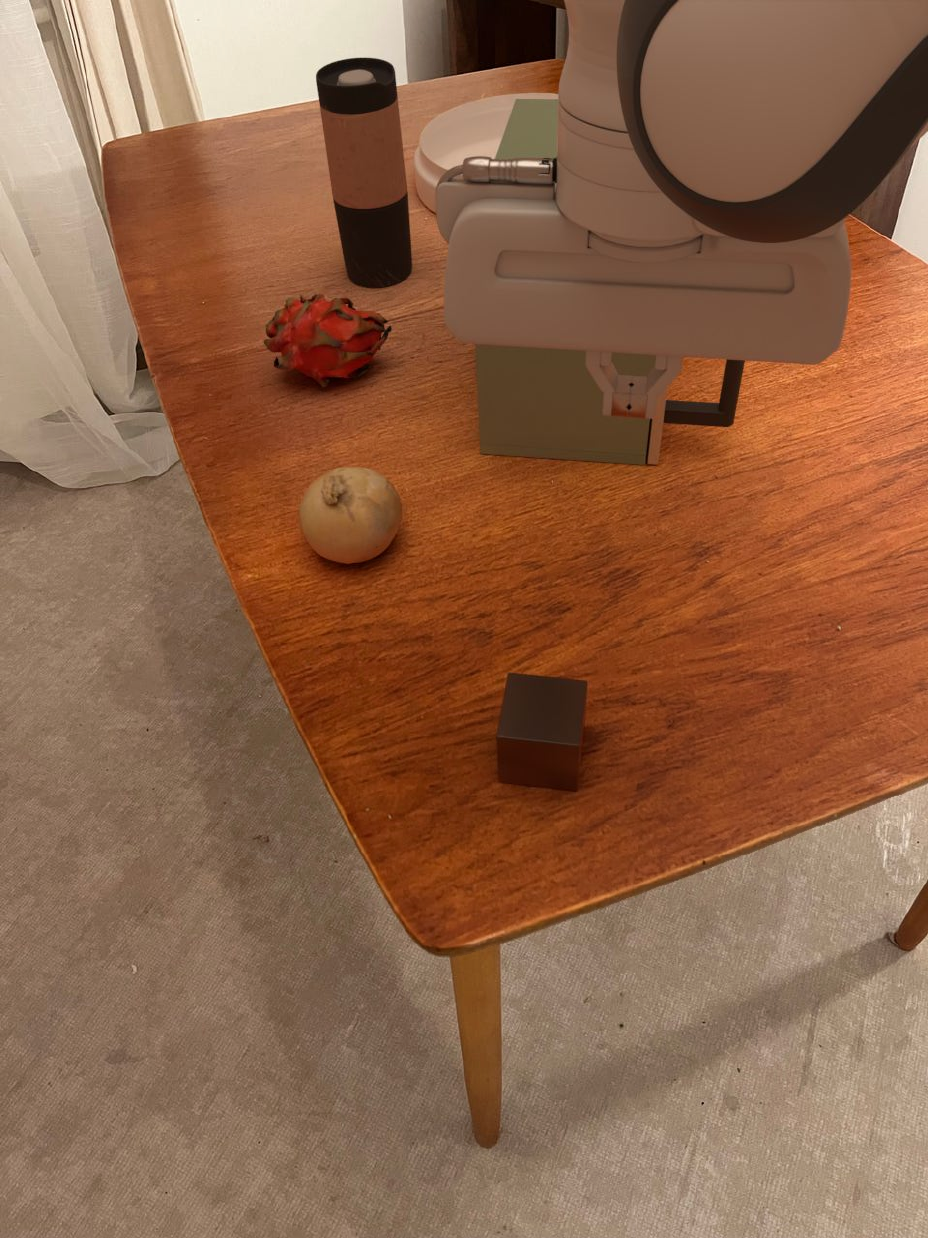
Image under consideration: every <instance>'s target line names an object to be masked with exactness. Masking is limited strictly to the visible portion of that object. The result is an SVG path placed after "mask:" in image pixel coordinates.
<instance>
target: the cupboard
mask: <svg viewBox="0 0 928 1238" xmlns="http://www.w3.org/2000/svg"><path fill="white" fill-rule="evenodd" d="M557 126H558V99H516V101H515V103H514V106H513V109H512V112H511V115H510V117H509V120H508V123H507V126H506V129H505V131H504V134H503V137H502V140H501V143H500V145H499V148H498V151H497V154H496V157H495V159H500V160H501V159H506V160H507V159H514V158H517V159H518V158H556V157H557ZM555 184H557V183H555ZM474 353H475V370H476V371H475V373H476V374H475V375H476V393H477V394H476V395H477V396H476V397H477V413H478V433H479V434H478V436H479V453H480V455H489V456H490V455H492V456H506V457H519V458H520V457H521V458H535V459H549V460H563V461H577V462H578V461H579V462H593V463H606V464H607V463H608V464H609V463H610V464H621V465H635V466H636V465H637V466H645V465H646V462H647V461H646V460H647V459H646V458H647V449H648V443H649V434H650V424H651V419H646V418H635V417H616V416H603V415H602V412H603V397H604V392H602V391H601V390H600V388H599V387H598V385H597V384H596V382H595V380H594V379H593V377H592V376H591V374H590V372H589V371H588V369H587V368H586V366H585V359H586V351H581V350H565V349H548V348H532V347H516V346H499V345H483V344H474ZM655 362H656V355H646V354H630V353H614V352H613V354H612V363H613V365H614V367H615V369H616V371H617V373H618V375H629V376H647V375H648V374H649V373H650V371H651V370H652V369H653V368H654V366H655ZM645 417H646V415H645Z"/></svg>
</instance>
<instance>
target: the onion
mask: <svg viewBox="0 0 928 1238" xmlns="http://www.w3.org/2000/svg"><path fill="white" fill-rule="evenodd" d="M402 518H403V504H402V501H401V497H400V495H399V493H398V490H397V488H396V487H395V486H394V484H393V483H392V482H391V481H390V480H389V479H388V478H387V477H386V476H385V475H384V474H381V473H379V472H378V471H376V470H374V469H371V468H369V467H368V468H367V467H359V466H356V467H355V466H354V467H353V466H347V467H346V466H345V467H343V466H342V467H337V468H333V469H331V470H329V471H327V472H325V473H323V474H322V475H320V476H318V477H317V478H315V479H314V480H313V481H312V482H311V483H310V484H309V486H308V487H307V489H306V490H305V492H304V494H303V496H302V499H301V502H300V504H299V508H298V521H299V522H298V523H299V527H300V530H301V533H302V535H303V538H304V539H305V541H306V543H307V544H308V546H309V547H310V548H311V549H312V550H313V551H314V552H315V553H316V554H318V556H320V557H322V558H324V559H326V560H329V561H333V562H335V563H339V564H347V565H350V564H355V563H357V564H358V563H362V562H367V561H369V560H370V561H371V560H372V559H374V558H376V557H378V556H379V555H381V554H382V553H383V552H384V551H385V550H386V549H388V547H389V546H390V545H391V543H392V542H393V540H394V538H395V537H396V535H397V533H398V532H399V530H400V527H401V523H402Z"/></svg>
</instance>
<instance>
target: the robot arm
mask: <svg viewBox="0 0 928 1238" xmlns="http://www.w3.org/2000/svg"><path fill="white" fill-rule="evenodd" d="M563 2H564V6H565V10H566V16H567V25H568V43H567V52H566V57H565V60H564V64H563V67H562V70H561V74H560V77H559V82H558V91H557V94H558V126H557V157H556V158H518V159H517V158H514V159H507V160H506V159H501V160H500V159H492V158H491V157H486V156H475V157H468V158H465V159H464V160H463V165H459V166H455V167H453V168H451V169H449V170H448V171H447V172H445V173H444V174H443V176H442V177H441V178H440V180H439V182H438V184H437V186H436V190H435V206H436V213H435V218H436V225H437V228H438V231H439V234H440V235H441V237H442V238H443V240H444V241H445V242H446V243H447V244H448V247H447V252H446V253H447V254H446V261H445V272H444V282H443V283H444V285H443V322H444V326H445V328H446V329H447V330H448V332H449V333H450V334H451V335H452V336H453V337H454V338H455V339H456V341H457V342H459V343H462V344H467V345H475V344H483V345H499V346H516V347H532V348H548V349H565V350H581V351H586V359H585V366H586V368H587V369H588V371H589V372H590V374H591V376H592V377H593V379H594V380H595V382H596V384H597V385H598V387H599V388H600V390H601V391H602V392H604V397H603V412H602V415H603V416H616V417H635V418H646V419H650V420H651V419H654V417H655V409H656V401H657V395H660V394H661V393H662V392H663V391H664V390H665V389H666V388H667V387H669V386H670V384H671V383H673V381H674V380H675V379H676V378H677V377H678V376H679V374H681V372H682V366H683V360H684V358H699V359H713V360H714V359H715V360H726V359H728V360H745V362H746V361H747V362H761V363H763V362H765V363H779V364H795V365H796V364H797V365H806V366H807V365H809V366H810V365H811V366H815V365H820V364H821V363H823V362H825V361H826V360H827V359H828V358H830V357H831V356H832V355H833V354H834V353H836V352H837V351H838V350H839V349H840V347H841V344H842V340H843V337H844V332H845V328H846V324H847V318H848V311H849V305H850V297H851V284H852V260H851V251H850V244H849V238H848V230H847V227H846V222H845V221H846V218H847V217H848V216H849V215H850V214H852V213H853V212H854V211H855V210H856V209H858V208H859V207H860V206H861V205H862V204H863V203H864V202H865V201H866V200H867V199H868V198H869V197H870V196H871V195H872V193H874V191H875V190H876V189H877V188H878V187H879V186H880V185H881V184H882V183H883V182H884V180H885V179H886V178H887V177H888V176H889V175H890V174H891V172H892V171H893V170H894V169H895V168H896V167H897V165H898V164H900V162H901V161H902V159H903V158H904V156H906V154H907V152H908V151H909V150H910V149H911V148H912V147H913V146H914V145H915V144H917V142H918V141H919V140H921V138H923V137H924V136H925V135H926V134H927V133H928V0H563ZM460 174H463V178H453V177H455V176H457V175H460ZM555 183H557V184H555ZM613 352H614V353H630V354H646V355H656V362H655V366H654V368H653V369H652V370H651V371H650V373H649V374H648V375H647V376H629V375H618V373H617V371H616V369H615V367H614V365H613V363H612V354H613ZM667 389H668V388H667ZM645 415H646V417H645Z"/></svg>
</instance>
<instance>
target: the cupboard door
mask: <svg viewBox="0 0 928 1238" xmlns="http://www.w3.org/2000/svg"><path fill="white" fill-rule="evenodd" d="M745 363H746V361H745V360H728V359H725V366H724V371H723V377H722V382H721V383H722V384H721V390H720V394H719V395H720V396H719V402H708V401H706V402H705V401H693V400H692V401H691V400H673V399H667V395H668V387H669V386H668V387H667V388H666V389H665V390H664V391H663V392H662V393H661V394H660V395H657V401H656V409H655V417H654V419H650V426H649V438H648V452H647V464H648V465H659V462H660V454H661V453H660V452H661V447H662V437H663V428H664V424H669V425H672V424H673V425H685V426H686V425H687V426H702V427H715V428H730V427H732V426H733V425H734V422H735V417H736V412H737V407H738V400H739V395H740V390H741V384H742V378H743V373H744V370H745V369H744V368H745Z"/></svg>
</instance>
